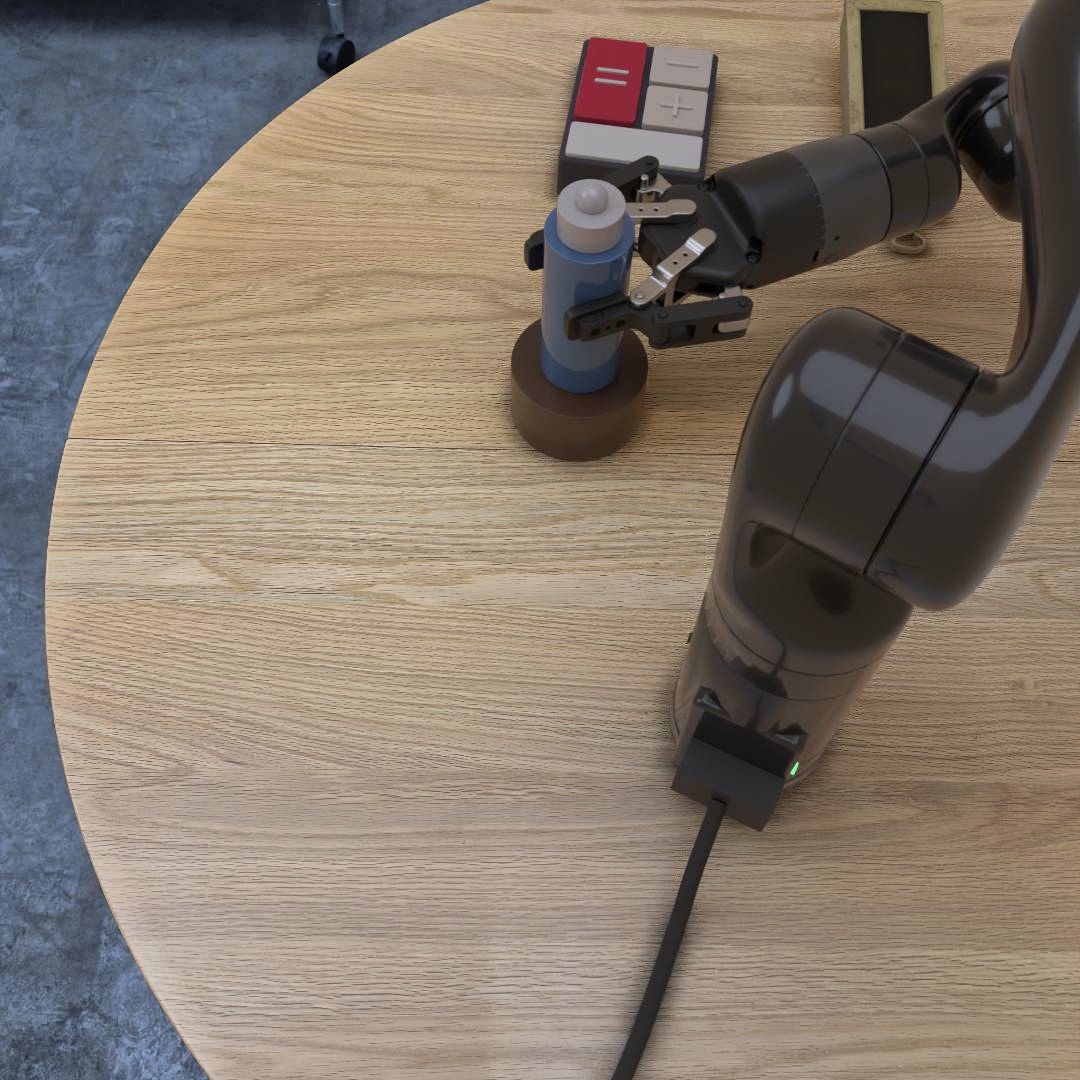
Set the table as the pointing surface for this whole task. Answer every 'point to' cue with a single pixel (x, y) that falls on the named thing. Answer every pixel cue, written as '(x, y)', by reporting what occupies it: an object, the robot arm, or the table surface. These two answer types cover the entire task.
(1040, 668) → the table surface
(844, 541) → the robot arm
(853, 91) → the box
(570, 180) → the calculator
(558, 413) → the stand
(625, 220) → the pepper mill
